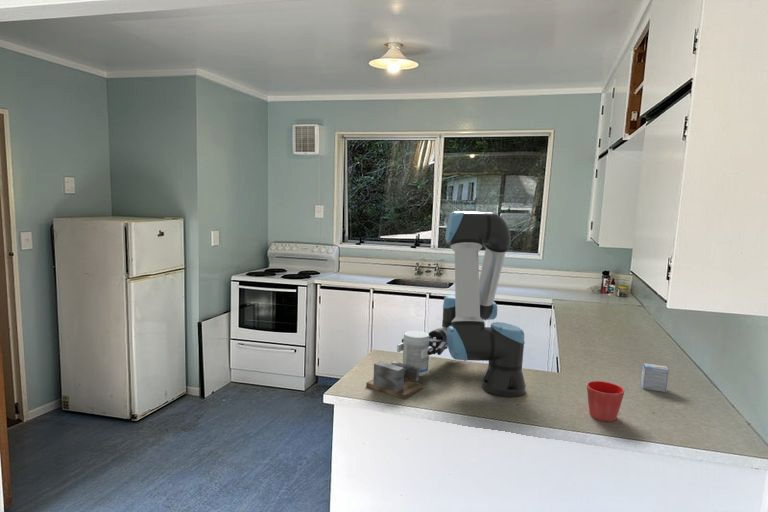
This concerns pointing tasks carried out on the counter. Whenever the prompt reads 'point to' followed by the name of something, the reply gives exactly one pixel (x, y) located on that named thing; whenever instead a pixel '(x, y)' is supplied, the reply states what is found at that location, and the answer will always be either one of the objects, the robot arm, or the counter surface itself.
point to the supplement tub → (416, 350)
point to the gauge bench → (405, 391)
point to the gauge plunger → (408, 371)
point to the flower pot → (604, 400)
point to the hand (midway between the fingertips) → (409, 351)
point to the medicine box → (654, 377)
